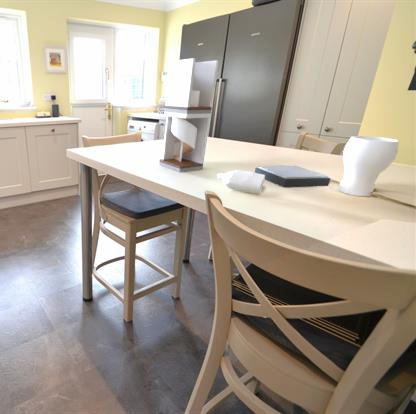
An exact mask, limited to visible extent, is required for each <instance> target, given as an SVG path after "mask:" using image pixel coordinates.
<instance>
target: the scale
mask: <svg viewBox="0 0 416 414" xmlns="http://www.w3.org/2000/svg"><path fill="white" fill-rule="evenodd" d="M254 173H257V174H263V175H265V180H266V181H267V182H270V183H273V184H275V185H277V186H280V187H282V188H304V187H305V188H307V187H328V186H329V185H330V182H331V178H330V177H329V175H326V174H323V173H320V172H317V171H314V170H311V169H307V168H304V167H302V166H299V165H258V166H257V167H255V168H254Z"/></svg>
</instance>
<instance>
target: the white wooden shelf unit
mask: <svg viewBox="0 0 416 414" xmlns="http://www.w3.org/2000/svg"><path fill="white" fill-rule="evenodd" d="M219 63H220V60H217V59H216V60H207V61H196V58H195V57H192V58H184V59H176V60H169V61H168V64H167V65H168V66H167V67H168V68H167V75H166V76H167V78H166V88H165V99H164V111H163V116H164V117H165V127H164V137H163V138H164V139H163V149H162V158H161V159H159V164H158V165H159V166H161V167H163V168H167V169H170V170H172V171H175V172H178V173H184V172H191V171H198V170H203V169H204V161H205V154H206V149H207V141H208V136H209V129H210V123H211V116H212V110H213V109H212V108H213V103H214V95H215V89H216V82H217V77H218V69H219Z"/></svg>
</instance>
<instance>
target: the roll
mask: <svg viewBox="0 0 416 414" xmlns="http://www.w3.org/2000/svg"><path fill="white" fill-rule="evenodd" d="M216 177H217V180H219V181H220V182H221V183H223V185H225V187H227V188H228V189H229V190H233V191H239V192H245V193H248V194H254V195H259V196H260V195H261V193H262V191H263V188H264V183H265V180H266V179H265V175H263V174H257V173H255V172H252V171H246V170H240V169H235V170H231V171H228V172H225V173H223V172H221V173H217V175H216Z"/></svg>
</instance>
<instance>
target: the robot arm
mask: <svg viewBox="0 0 416 414" xmlns="http://www.w3.org/2000/svg"><path fill="white" fill-rule="evenodd" d="M411 49H412V50H414V51H413V53H414V55H416V40H415V41H414V42H413V43H412V46H411ZM413 71H414V72H413V75H412V78H411V80H410V82H409V84H408V88H407V91H416V65H415V66H414V70H413Z"/></svg>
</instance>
